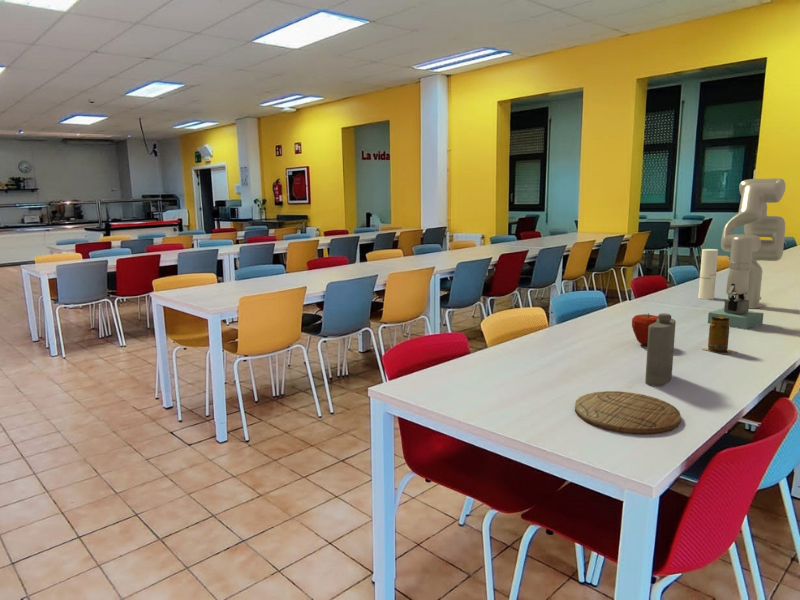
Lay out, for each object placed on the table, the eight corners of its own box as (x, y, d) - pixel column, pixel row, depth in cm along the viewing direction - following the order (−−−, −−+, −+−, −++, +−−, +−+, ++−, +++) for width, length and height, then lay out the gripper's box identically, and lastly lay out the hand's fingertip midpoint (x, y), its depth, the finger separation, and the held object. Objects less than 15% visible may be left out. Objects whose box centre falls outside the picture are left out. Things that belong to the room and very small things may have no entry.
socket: (724, 317, 245) (725, 307, 245) (762, 323, 234) (763, 313, 233) (707, 322, 237) (708, 312, 236) (746, 329, 225) (747, 318, 224)
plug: (730, 318, 240) (732, 297, 238) (747, 321, 234) (749, 300, 233) (723, 321, 236) (725, 300, 234) (740, 323, 231) (742, 302, 229)
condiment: (715, 346, 202) (717, 314, 200) (737, 352, 195) (741, 318, 192) (701, 349, 199) (704, 316, 197) (724, 355, 191) (727, 321, 189)
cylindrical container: (716, 299, 285) (721, 250, 280) (702, 299, 285) (706, 250, 281) (709, 296, 292) (713, 248, 288) (695, 297, 292) (699, 249, 288)
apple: (631, 347, 203) (632, 315, 200) (630, 340, 213) (631, 309, 210) (664, 350, 199) (667, 316, 197) (662, 342, 209) (664, 310, 207)
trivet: (660, 446, 126) (661, 438, 126) (557, 418, 143) (557, 410, 143) (693, 412, 144) (693, 405, 144) (598, 391, 161) (598, 384, 161)
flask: (664, 388, 161) (669, 320, 158) (643, 384, 165) (647, 318, 161) (675, 374, 173) (679, 310, 170) (655, 371, 177) (659, 308, 173)
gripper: (740, 263, 239) (736, 305, 242) (720, 267, 229) (716, 310, 232) (759, 265, 233) (755, 307, 236) (740, 269, 223) (736, 313, 226)
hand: (736, 308), depth 234 cm, fingers closed on plug, 6 cm apart
